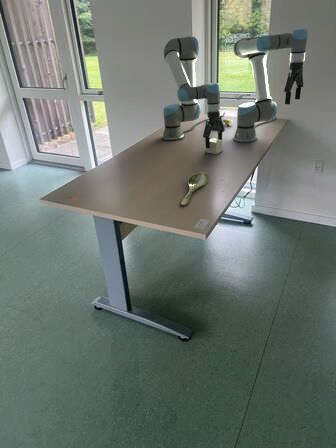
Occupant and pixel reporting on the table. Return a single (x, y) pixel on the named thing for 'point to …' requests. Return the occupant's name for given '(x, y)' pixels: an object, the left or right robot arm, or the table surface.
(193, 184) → the spoon
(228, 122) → the spray gun
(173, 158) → the table surface
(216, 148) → the block
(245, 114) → the right robot arm
